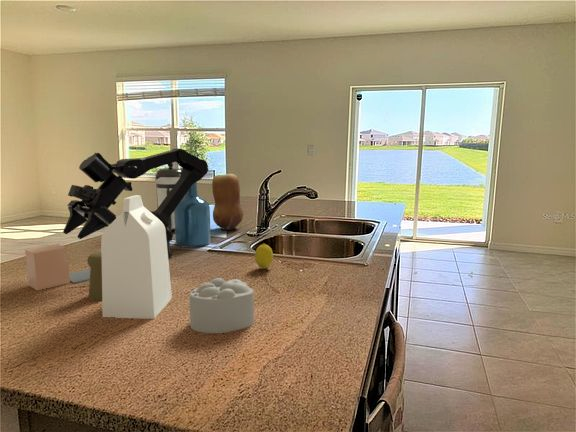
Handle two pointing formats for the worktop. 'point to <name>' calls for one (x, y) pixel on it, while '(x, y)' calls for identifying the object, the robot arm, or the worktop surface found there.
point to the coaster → (80, 276)
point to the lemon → (263, 256)
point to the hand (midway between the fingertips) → (71, 235)
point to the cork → (95, 276)
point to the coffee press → (167, 187)
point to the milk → (135, 264)
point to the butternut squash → (227, 201)
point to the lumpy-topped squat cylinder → (221, 306)
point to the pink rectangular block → (47, 266)
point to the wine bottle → (192, 220)
